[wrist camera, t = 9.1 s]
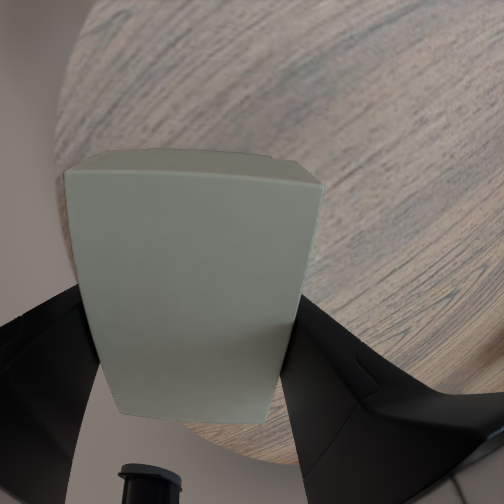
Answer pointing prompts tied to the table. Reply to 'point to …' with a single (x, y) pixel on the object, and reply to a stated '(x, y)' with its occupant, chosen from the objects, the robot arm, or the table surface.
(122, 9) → the table surface
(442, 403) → the robot arm
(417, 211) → the table surface
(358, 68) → the table surface
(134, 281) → the cream block
